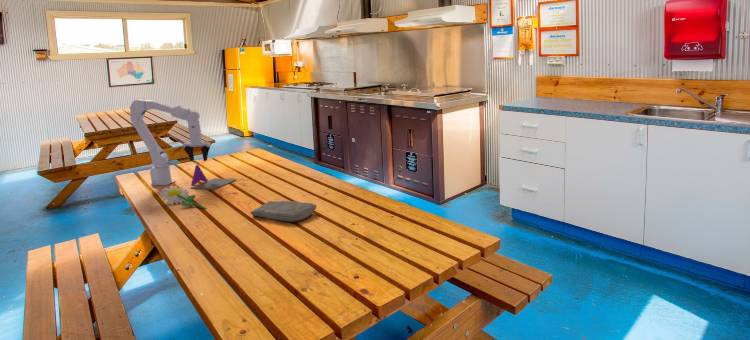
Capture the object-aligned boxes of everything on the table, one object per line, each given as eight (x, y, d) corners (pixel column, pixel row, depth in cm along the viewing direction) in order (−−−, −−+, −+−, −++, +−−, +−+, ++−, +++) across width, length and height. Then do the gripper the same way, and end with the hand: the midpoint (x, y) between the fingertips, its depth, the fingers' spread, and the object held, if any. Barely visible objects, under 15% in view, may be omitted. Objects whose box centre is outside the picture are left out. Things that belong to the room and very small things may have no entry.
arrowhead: (201, 192, 264) (187, 182, 257) (199, 191, 265) (185, 181, 258) (211, 175, 268) (197, 165, 261) (209, 175, 269) (196, 164, 262)
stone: (319, 203, 204) (296, 214, 191) (320, 213, 205) (297, 226, 192) (267, 197, 216) (242, 208, 203) (268, 207, 217) (244, 218, 204)
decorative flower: (219, 210, 225) (181, 192, 243) (218, 199, 223) (179, 182, 241) (192, 220, 216) (155, 200, 234) (191, 209, 214) (153, 190, 232)
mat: (190, 188, 255) (190, 187, 255) (214, 179, 271) (214, 178, 271) (213, 189, 250) (213, 188, 250) (236, 180, 266) (236, 179, 266)
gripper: (178, 136, 263) (181, 162, 267) (203, 135, 260) (207, 162, 263) (186, 133, 270) (189, 159, 273) (211, 133, 267) (214, 159, 270)
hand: (198, 160), depth 269 cm, fingers open, 7 cm apart
